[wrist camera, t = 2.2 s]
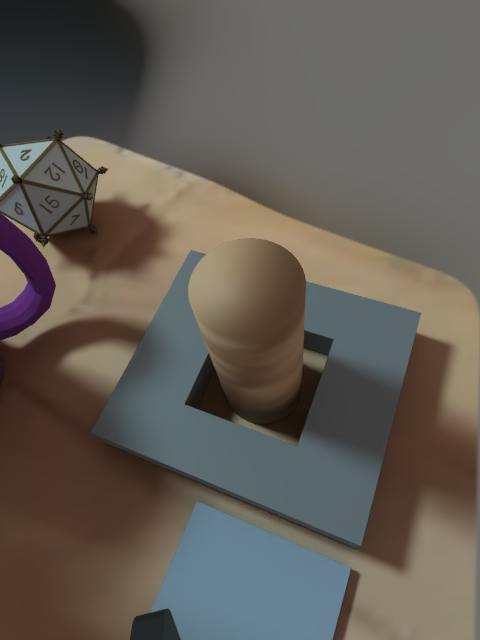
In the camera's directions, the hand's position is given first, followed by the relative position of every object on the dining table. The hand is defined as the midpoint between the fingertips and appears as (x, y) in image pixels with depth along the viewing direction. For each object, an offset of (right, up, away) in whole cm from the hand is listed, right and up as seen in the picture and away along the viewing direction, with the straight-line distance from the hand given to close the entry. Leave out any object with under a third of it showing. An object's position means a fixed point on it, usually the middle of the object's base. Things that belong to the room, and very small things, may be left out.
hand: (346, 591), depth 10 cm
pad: (-2, -9, +13) cm, 17 cm away
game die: (-17, +14, +28) cm, 36 cm away
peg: (-1, +2, +19) cm, 20 cm away
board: (-1, +2, +19) cm, 20 cm away
